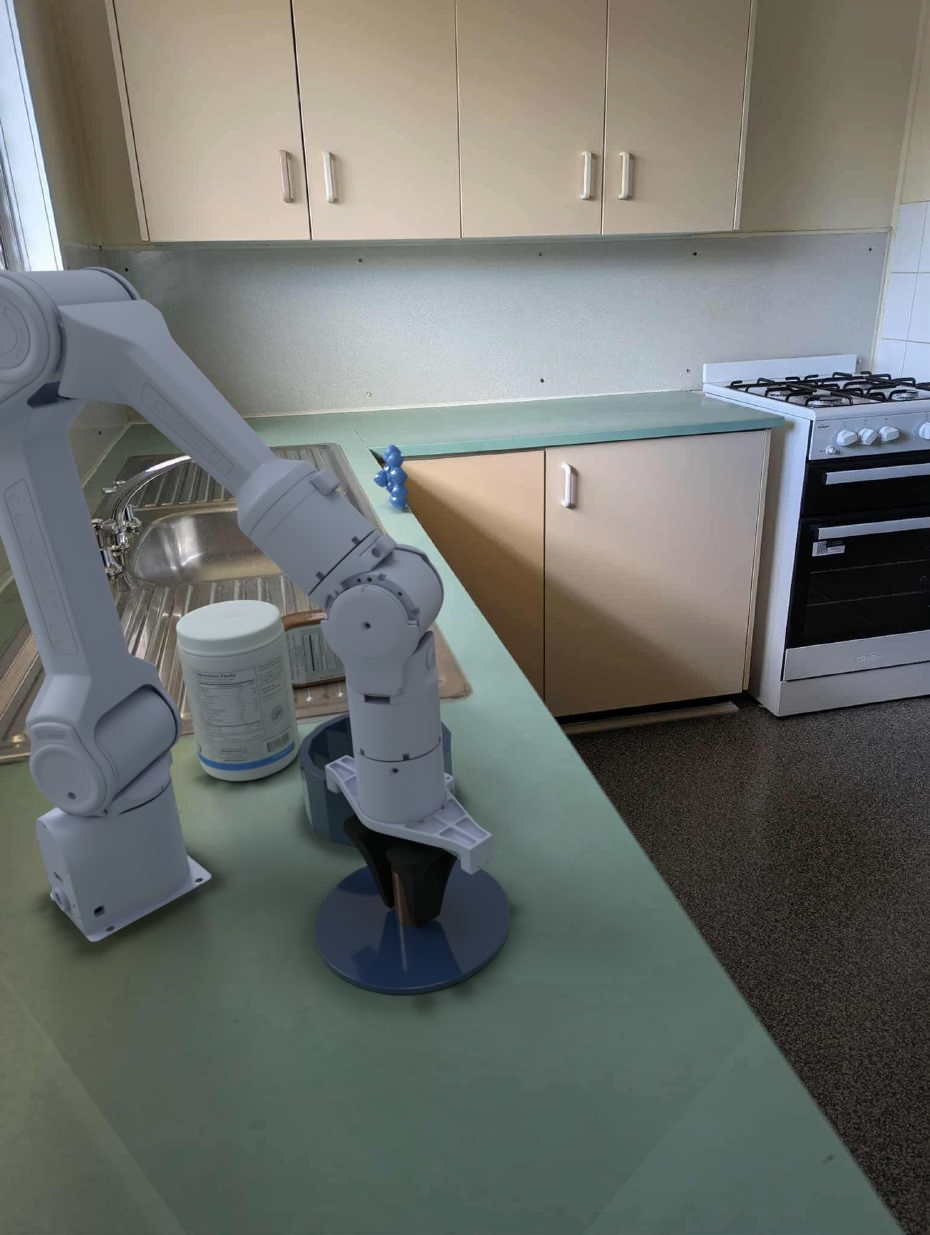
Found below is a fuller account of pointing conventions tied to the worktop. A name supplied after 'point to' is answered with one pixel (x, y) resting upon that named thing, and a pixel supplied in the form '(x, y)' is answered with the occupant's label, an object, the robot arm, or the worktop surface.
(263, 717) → the supplement tub
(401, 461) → the grapes
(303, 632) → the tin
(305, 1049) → the worktop surface
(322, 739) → the crock
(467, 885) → the lid
